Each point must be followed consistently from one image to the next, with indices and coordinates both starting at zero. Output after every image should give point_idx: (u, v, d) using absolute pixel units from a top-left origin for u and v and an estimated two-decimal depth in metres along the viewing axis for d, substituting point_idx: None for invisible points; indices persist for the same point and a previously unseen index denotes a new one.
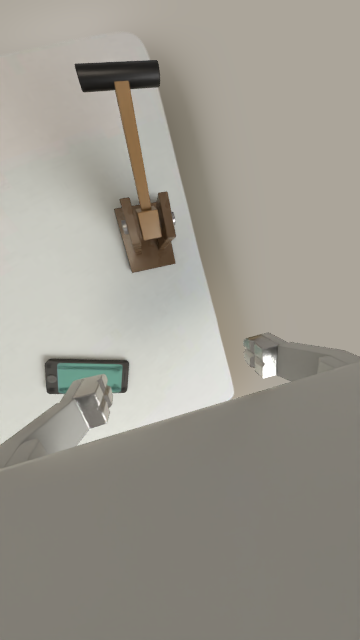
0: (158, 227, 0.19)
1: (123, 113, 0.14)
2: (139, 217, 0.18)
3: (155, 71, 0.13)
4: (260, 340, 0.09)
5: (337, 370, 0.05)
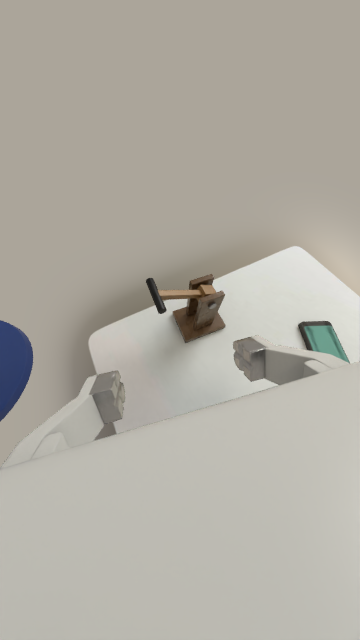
0: (208, 285, 0.30)
1: (168, 294, 0.26)
2: (207, 293, 0.29)
3: (151, 279, 0.26)
4: (249, 343, 0.09)
5: (337, 370, 0.05)
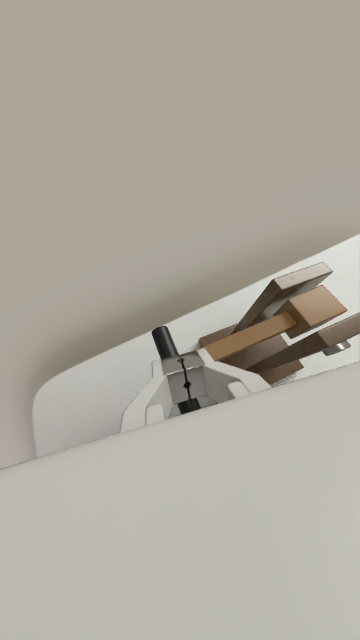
0: (312, 292, 0.11)
1: None
2: (315, 322, 0.10)
3: (159, 331, 0.11)
4: (191, 358, 0.09)
5: (337, 370, 0.05)
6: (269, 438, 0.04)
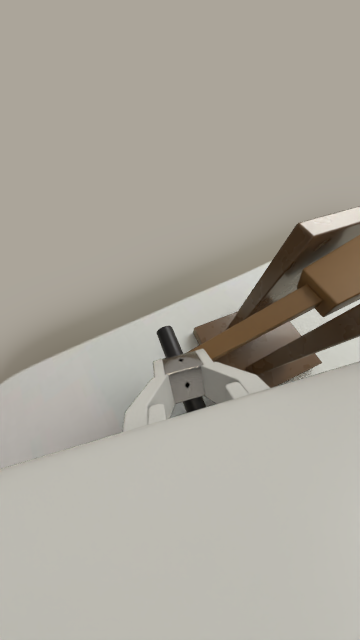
0: (345, 248, 0.07)
1: None
2: (346, 297, 0.07)
3: (161, 332, 0.12)
4: (189, 358, 0.09)
5: (337, 370, 0.05)
6: (269, 438, 0.04)
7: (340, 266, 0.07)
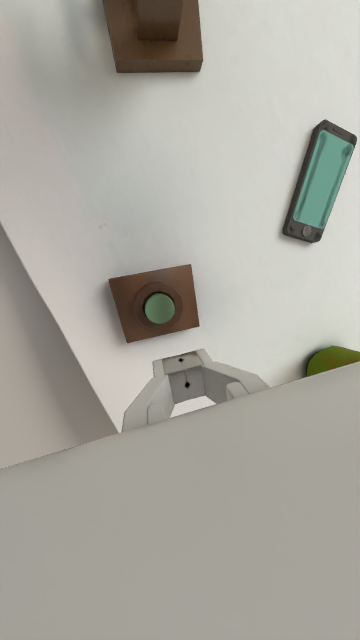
0: None
1: None
2: None
3: None
4: (189, 358, 0.09)
5: (337, 370, 0.05)
6: (269, 438, 0.04)
7: None
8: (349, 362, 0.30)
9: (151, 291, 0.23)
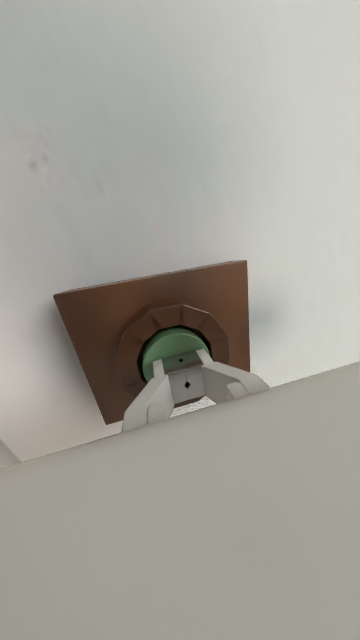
0: None
1: None
2: None
3: None
4: (189, 358, 0.09)
5: (337, 370, 0.05)
6: (269, 438, 0.04)
7: None
8: None
9: (159, 326, 0.09)
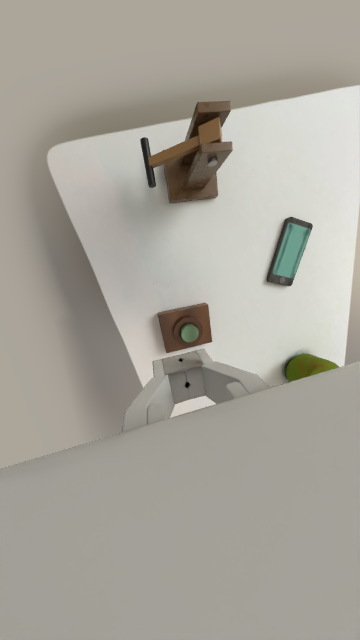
0: (211, 122, 0.22)
1: (157, 160, 0.26)
2: None
3: (142, 140, 0.26)
4: (189, 358, 0.09)
5: (337, 370, 0.05)
6: (269, 438, 0.04)
7: (206, 130, 0.22)
8: (311, 365, 0.46)
9: (184, 322, 0.38)
